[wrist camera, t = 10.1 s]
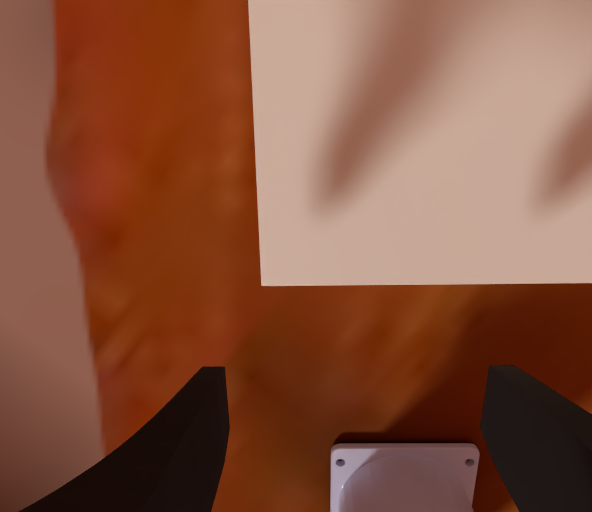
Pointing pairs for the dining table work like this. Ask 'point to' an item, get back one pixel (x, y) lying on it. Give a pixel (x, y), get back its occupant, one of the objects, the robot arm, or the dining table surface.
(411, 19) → the pale beige flat-sided block
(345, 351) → the dining table surface
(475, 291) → the dining table surface
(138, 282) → the dining table surface
